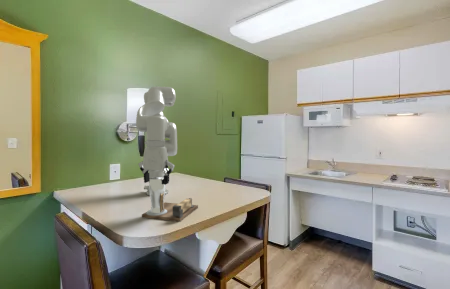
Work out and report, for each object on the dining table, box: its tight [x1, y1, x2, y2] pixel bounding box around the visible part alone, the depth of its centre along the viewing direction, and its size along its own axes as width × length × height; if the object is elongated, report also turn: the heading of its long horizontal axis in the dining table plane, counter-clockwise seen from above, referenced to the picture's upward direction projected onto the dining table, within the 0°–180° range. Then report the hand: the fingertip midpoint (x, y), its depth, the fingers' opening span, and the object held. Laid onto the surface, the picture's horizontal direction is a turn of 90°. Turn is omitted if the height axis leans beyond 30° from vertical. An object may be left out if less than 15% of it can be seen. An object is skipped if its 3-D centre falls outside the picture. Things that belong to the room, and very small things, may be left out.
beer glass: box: [148, 177, 166, 214], centre depth 107 cm, size 7×7×15 cm
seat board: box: [141, 197, 199, 222], centre depth 111 cm, size 18×19×5 cm
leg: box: [173, 198, 191, 216], centre depth 107 cm, size 14×3×4 cm, turn 165°
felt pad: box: [145, 209, 167, 216], centre depth 108 cm, size 9×9×1 cm
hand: (156, 182), depth 108 cm, fingers open, 9 cm apart
